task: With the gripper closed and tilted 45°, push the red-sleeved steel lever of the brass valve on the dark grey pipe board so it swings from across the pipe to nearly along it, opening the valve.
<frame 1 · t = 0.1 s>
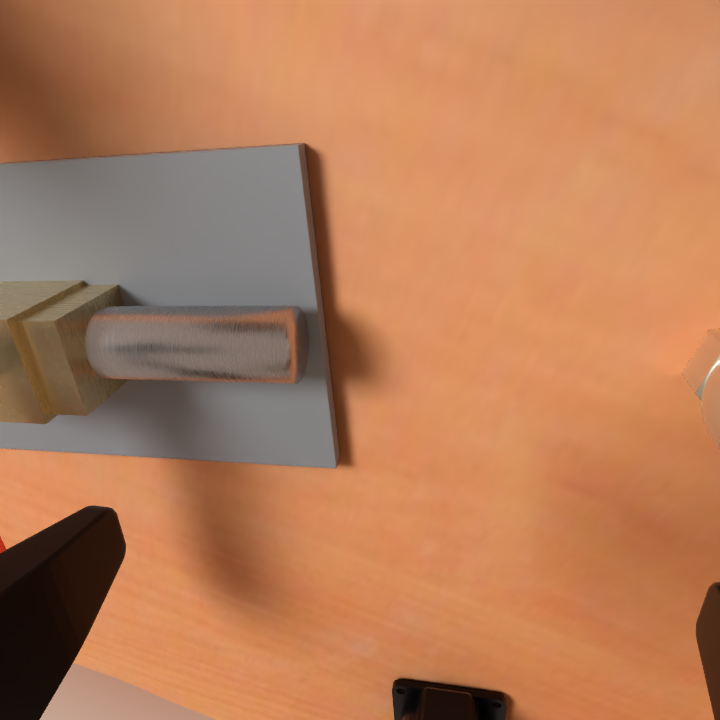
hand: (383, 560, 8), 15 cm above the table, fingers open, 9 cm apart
mounting board: (55, 320, 26), on the table
valve body: (55, 320, 26), resting on mounting board
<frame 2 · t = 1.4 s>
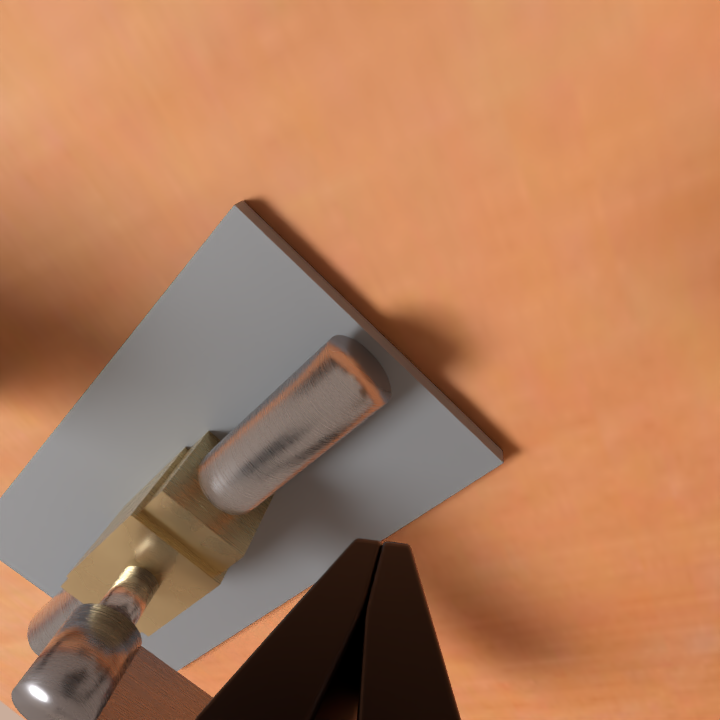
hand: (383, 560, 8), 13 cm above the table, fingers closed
mounting board: (197, 495, 27), on the table
valve body: (197, 495, 27), resting on mounting board
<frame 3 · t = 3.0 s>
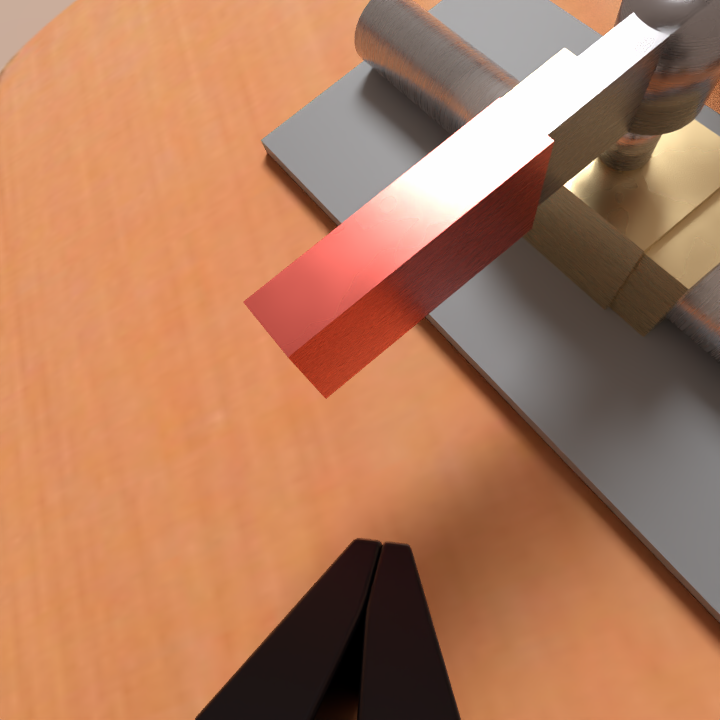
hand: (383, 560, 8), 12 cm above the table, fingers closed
valve lever: (507, 177, 13), point 9 cm above the table, hinge at 0.0°
mounting board: (586, 235, 22), on the table
valve body: (586, 235, 22), resting on mounting board
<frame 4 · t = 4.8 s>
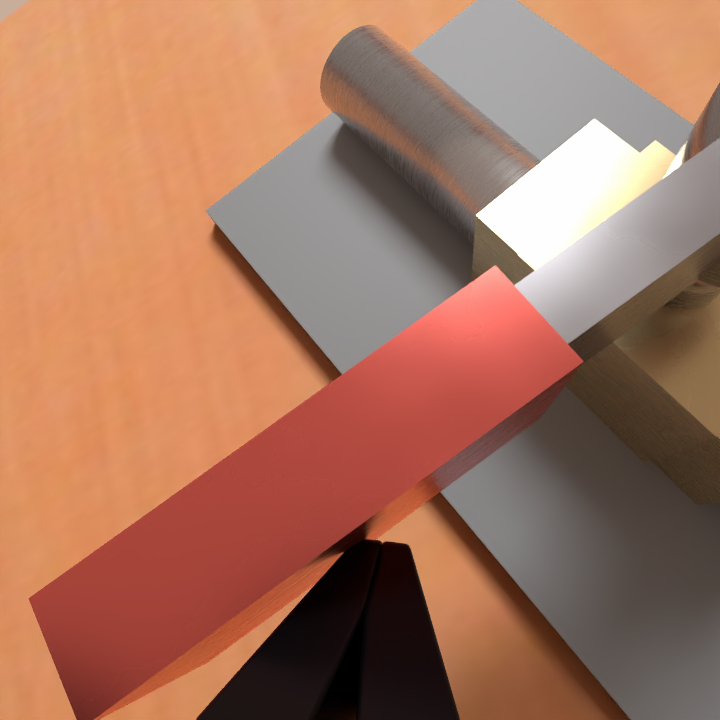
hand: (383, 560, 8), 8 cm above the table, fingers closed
valve lever: (505, 365, 8), point 9 cm above the table, hinge at 4.1°, touching gripper
mounting board: (616, 349, 17), on the table
valve body: (616, 349, 17), resting on mounting board
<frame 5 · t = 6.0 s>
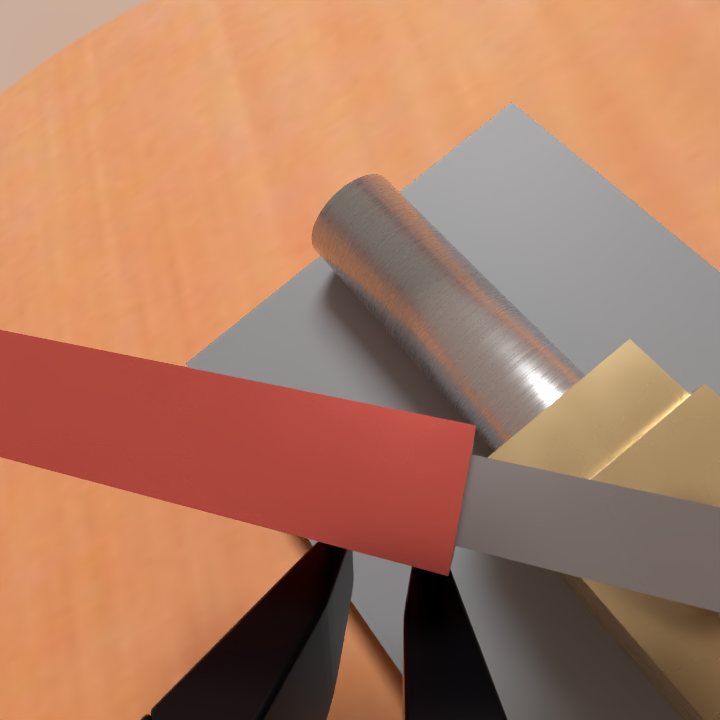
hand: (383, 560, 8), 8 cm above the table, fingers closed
valve lever: (440, 498, 8), point 9 cm above the table, hinge at 51.6°, touching gripper
mounting board: (647, 557, 15), on the table
valve body: (647, 557, 15), resting on mounting board
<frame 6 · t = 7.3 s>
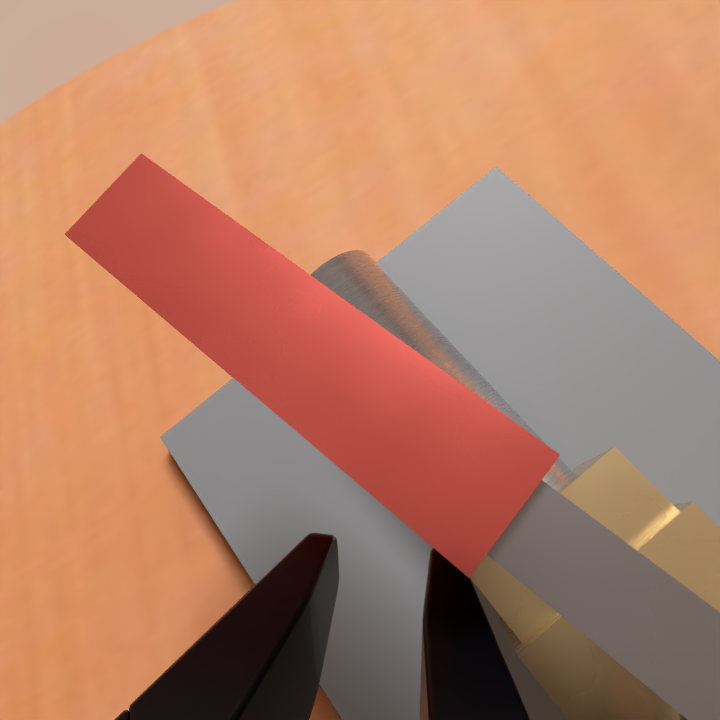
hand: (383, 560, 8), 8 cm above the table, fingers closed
valve lever: (483, 503, 7), point 9 cm above the table, hinge at 78.1°, touching gripper
mounting board: (636, 652, 14), on the table
valve body: (636, 652, 14), resting on mounting board
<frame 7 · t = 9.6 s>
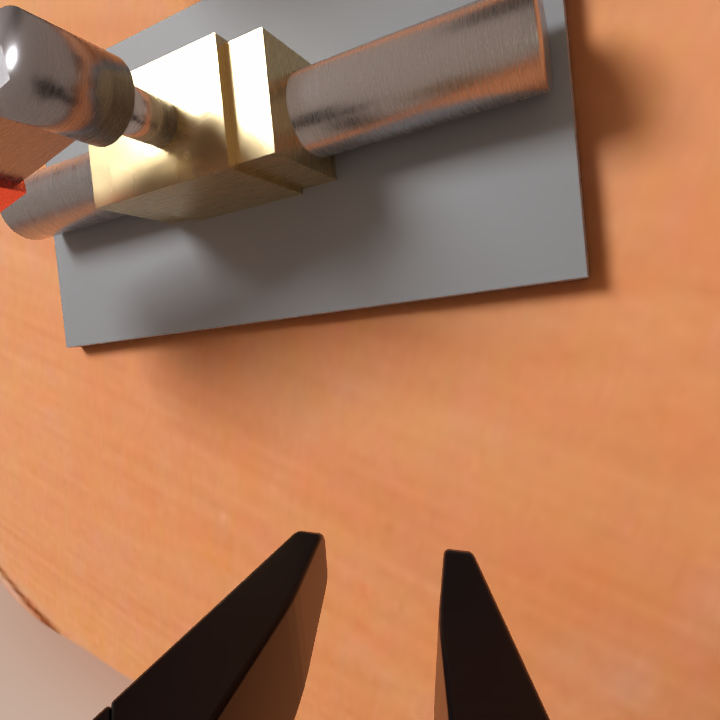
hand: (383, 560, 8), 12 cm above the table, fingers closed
mounting board: (254, 160, 24), on the table
valve body: (254, 160, 24), resting on mounting board
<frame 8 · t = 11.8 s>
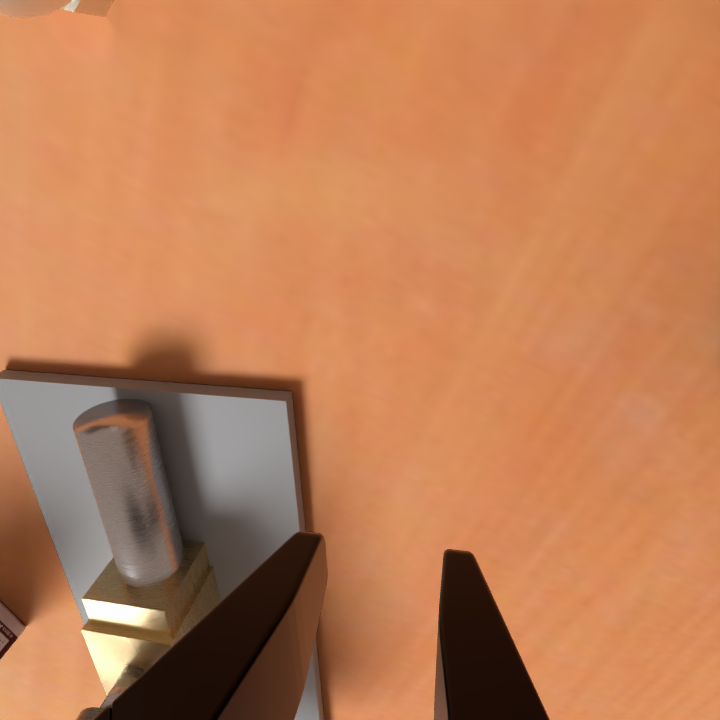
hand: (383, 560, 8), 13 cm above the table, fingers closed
mounting board: (189, 587, 30), on the table
valve body: (189, 587, 30), resting on mounting board
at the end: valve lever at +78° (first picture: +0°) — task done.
